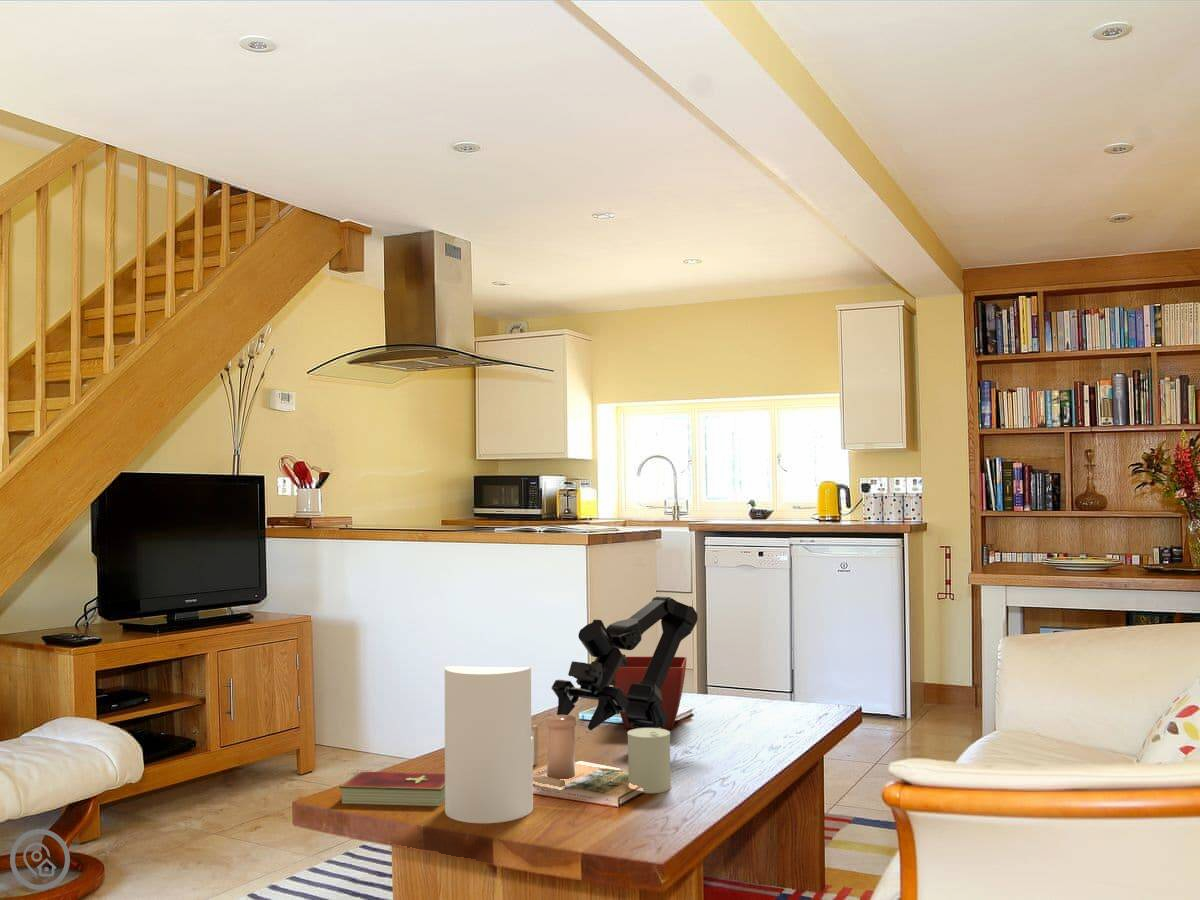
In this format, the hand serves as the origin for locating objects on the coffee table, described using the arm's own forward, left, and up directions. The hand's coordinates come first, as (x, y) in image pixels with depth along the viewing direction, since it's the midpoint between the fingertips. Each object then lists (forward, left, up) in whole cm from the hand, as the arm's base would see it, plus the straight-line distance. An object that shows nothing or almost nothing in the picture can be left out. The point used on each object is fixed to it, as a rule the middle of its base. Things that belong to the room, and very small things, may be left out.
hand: (572, 726), depth 231 cm
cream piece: (+4, 0, -11) cm, 11 cm away
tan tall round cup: (+2, +4, -10) cm, 11 cm away
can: (-18, +5, -11) cm, 22 cm away
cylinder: (+9, +28, -11) cm, 31 cm away
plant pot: (-4, -54, -11) cm, 55 cm away
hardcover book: (+30, +24, -11) cm, 40 cm away
